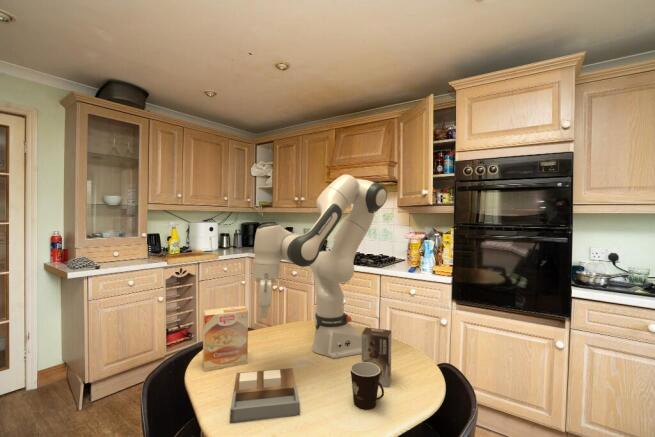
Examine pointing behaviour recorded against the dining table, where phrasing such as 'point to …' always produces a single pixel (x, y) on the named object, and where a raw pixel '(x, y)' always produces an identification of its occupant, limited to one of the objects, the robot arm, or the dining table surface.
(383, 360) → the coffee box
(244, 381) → the tile
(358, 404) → the coffee mug
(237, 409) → the tray
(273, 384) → the tile
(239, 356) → the coffeecake box
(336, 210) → the robot arm
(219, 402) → the dining table surface
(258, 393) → the board
